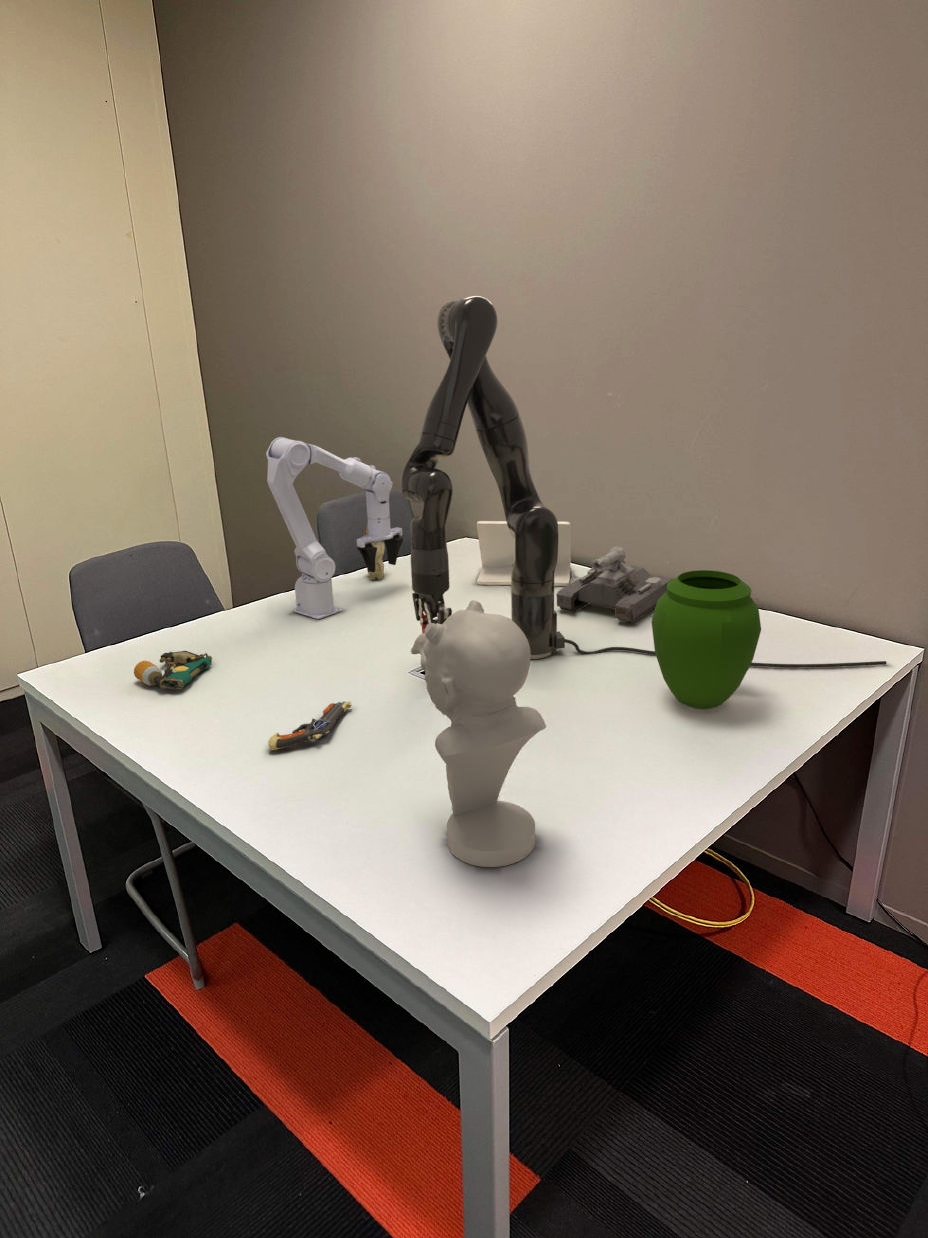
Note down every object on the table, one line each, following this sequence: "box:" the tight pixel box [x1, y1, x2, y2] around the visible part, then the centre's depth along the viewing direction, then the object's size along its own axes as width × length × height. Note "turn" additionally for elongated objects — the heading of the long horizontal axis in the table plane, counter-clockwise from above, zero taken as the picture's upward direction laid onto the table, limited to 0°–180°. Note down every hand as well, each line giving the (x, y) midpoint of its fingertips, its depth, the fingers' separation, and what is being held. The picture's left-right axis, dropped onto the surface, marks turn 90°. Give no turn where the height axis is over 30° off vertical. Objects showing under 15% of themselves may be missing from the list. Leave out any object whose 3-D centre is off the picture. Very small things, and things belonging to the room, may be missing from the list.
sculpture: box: [363, 523, 386, 580], centre depth 238 cm, size 6×7×15 cm
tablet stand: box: [476, 520, 572, 587], centre depth 236 cm, size 18×25×17 cm
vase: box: [651, 569, 762, 710], centre depth 158 cm, size 20×20×24 cm
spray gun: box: [133, 650, 213, 690], centre depth 180 cm, size 4×17×15 cm
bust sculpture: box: [410, 599, 547, 868], centre depth 121 cm, size 16×24×35 cm
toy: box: [556, 546, 675, 624], centre depth 212 cm, size 25×20×15 cm
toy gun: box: [267, 700, 353, 751], centre depth 156 cm, size 3×19×10 cm
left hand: (381, 567), depth 223 cm, fingers open, 7 cm apart
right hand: (433, 646), depth 176 cm, fingers closed on canister, 4 cm apart
